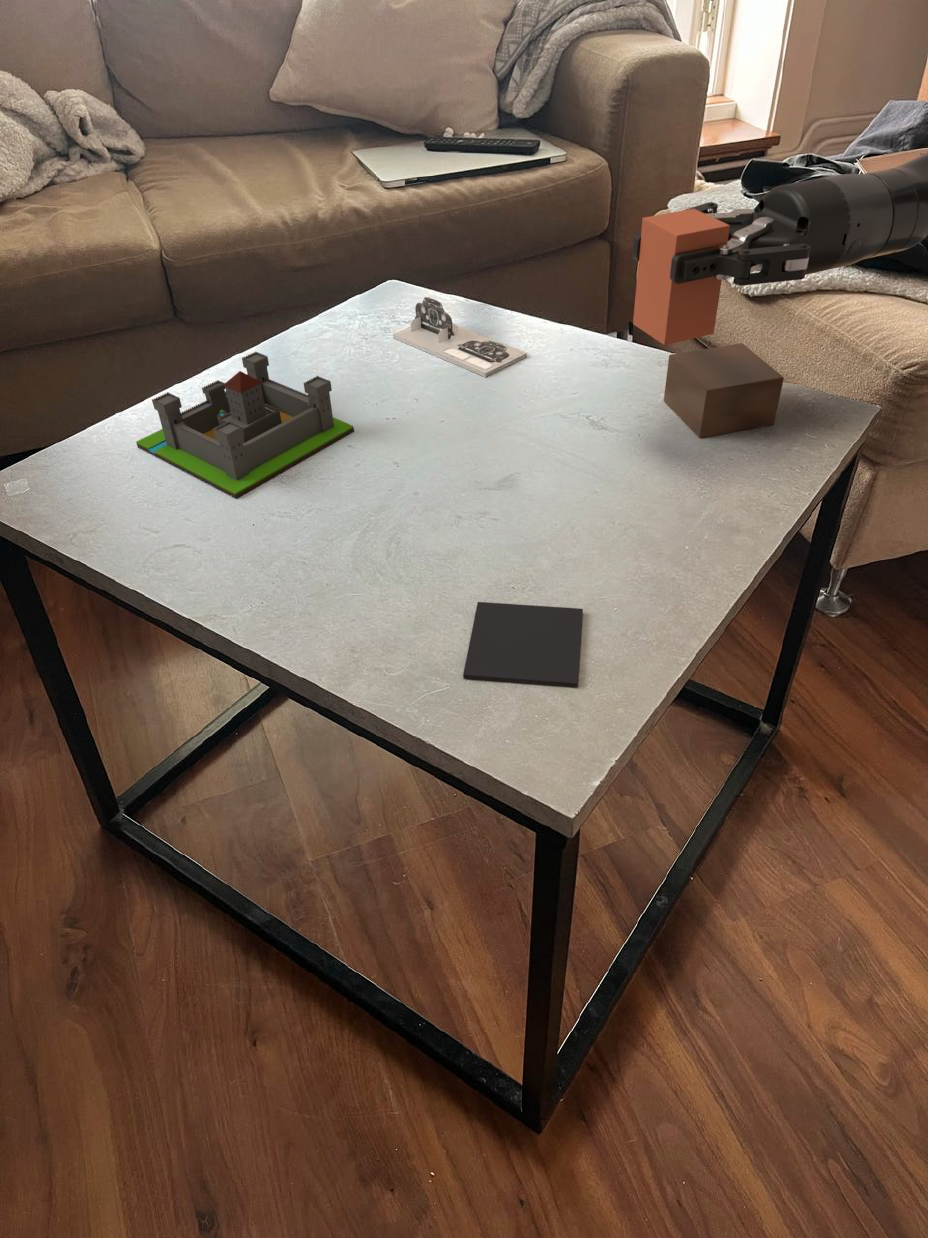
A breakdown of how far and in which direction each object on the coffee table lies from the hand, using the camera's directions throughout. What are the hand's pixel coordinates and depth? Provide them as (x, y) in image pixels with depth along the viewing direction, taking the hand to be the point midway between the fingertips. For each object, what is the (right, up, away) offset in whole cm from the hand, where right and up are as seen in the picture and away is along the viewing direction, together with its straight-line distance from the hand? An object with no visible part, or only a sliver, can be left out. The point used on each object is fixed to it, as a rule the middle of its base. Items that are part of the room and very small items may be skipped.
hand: (654, 258), depth 75 cm
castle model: (-37, -12, +16) cm, 42 cm away
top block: (+3, -4, +5) cm, 7 cm away
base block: (+10, -9, +17) cm, 21 cm away
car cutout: (-16, +2, +30) cm, 34 cm away
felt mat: (-11, -31, -8) cm, 34 cm away
